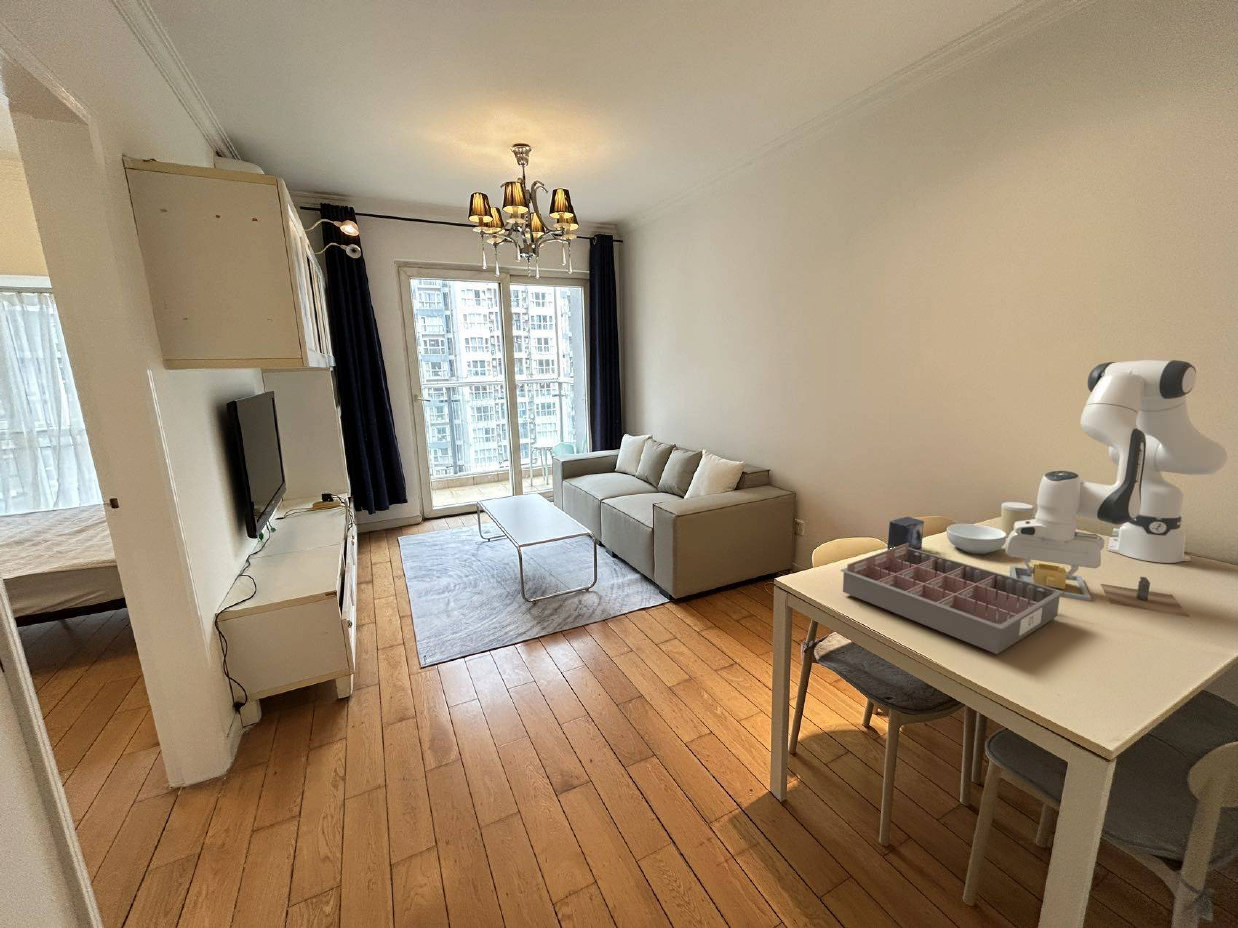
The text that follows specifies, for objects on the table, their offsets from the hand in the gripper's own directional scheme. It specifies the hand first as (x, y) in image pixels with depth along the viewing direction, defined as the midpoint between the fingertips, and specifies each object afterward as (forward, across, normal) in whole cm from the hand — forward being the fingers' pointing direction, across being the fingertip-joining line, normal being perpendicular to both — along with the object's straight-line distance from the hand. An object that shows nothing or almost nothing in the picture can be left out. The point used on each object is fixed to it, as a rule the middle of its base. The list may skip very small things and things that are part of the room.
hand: (1048, 576), depth 141 cm
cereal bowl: (+4, +17, -26) cm, 31 cm away
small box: (+4, +37, -16) cm, 40 cm away
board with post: (+4, -19, 0) cm, 19 cm away
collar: (+2, 0, +1) cm, 2 cm away
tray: (+4, 0, 0) cm, 4 cm away
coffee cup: (+4, +5, -49) cm, 49 cm away
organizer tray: (+4, +24, +27) cm, 37 cm away
